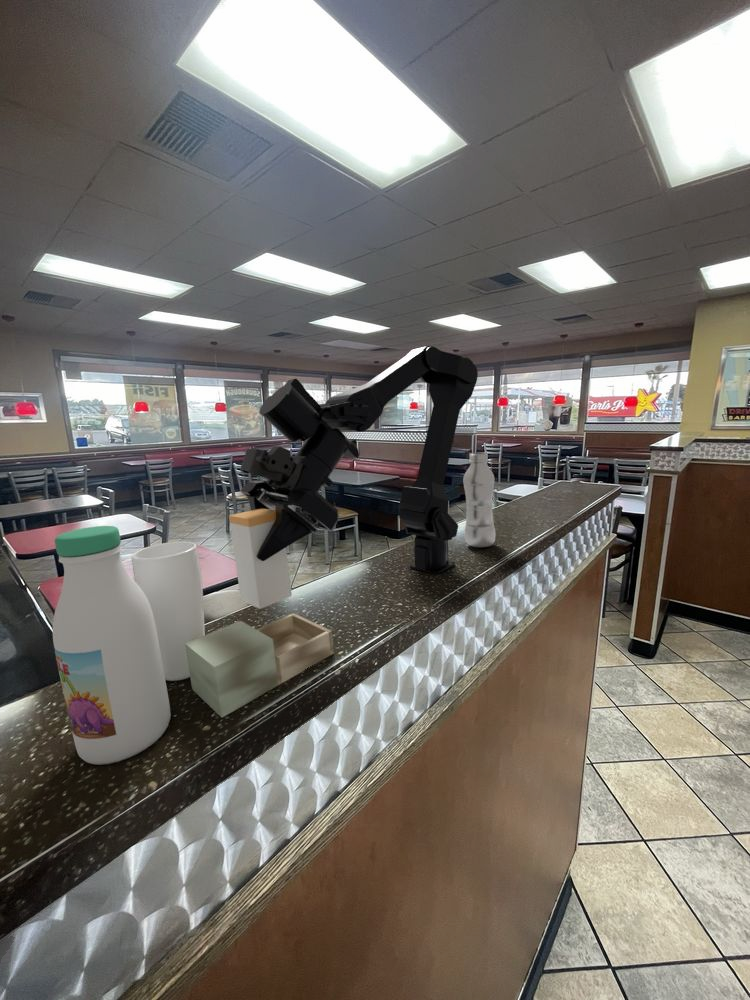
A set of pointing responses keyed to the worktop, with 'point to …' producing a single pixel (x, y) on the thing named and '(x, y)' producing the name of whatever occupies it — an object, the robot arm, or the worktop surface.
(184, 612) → the drinking glass
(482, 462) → the plastic bottle
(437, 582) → the worktop surface
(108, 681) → the milk bottle
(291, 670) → the open wooden box
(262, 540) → the orange-topped white pillar
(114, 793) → the worktop surface
